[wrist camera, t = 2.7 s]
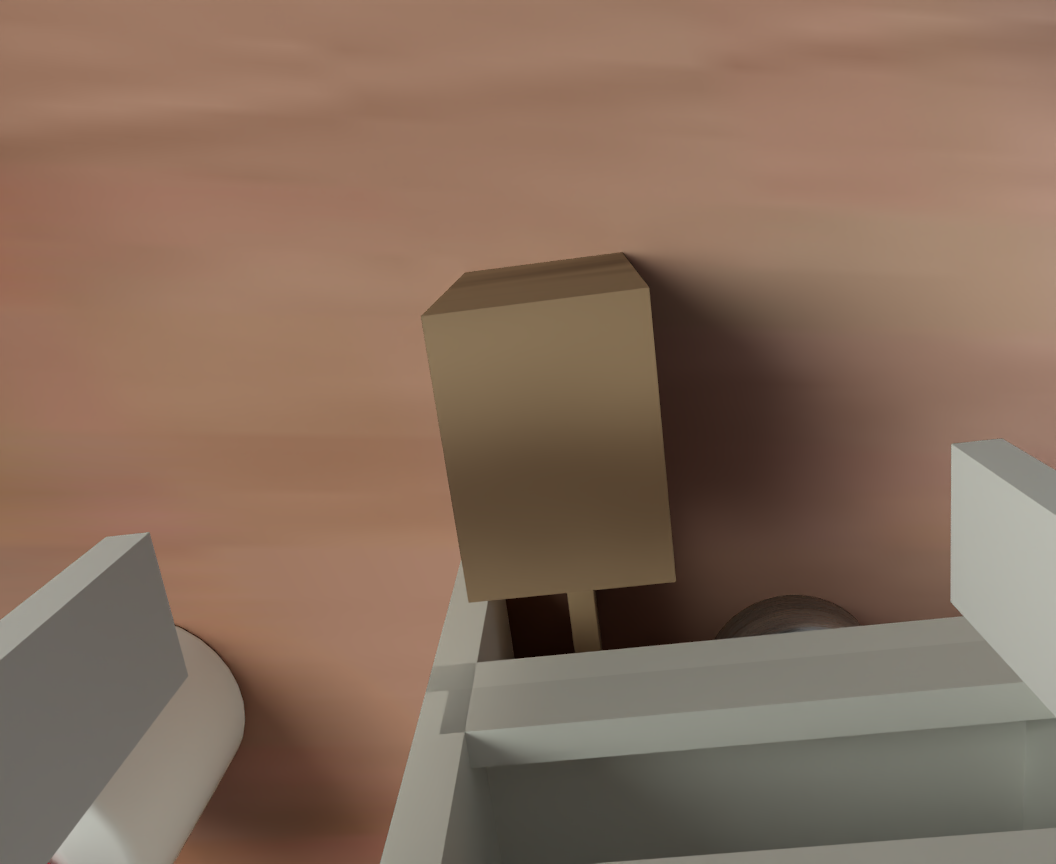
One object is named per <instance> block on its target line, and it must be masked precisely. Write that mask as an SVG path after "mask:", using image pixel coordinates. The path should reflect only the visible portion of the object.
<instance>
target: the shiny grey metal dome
mask: <svg viewBox="0 0 1056 864" xmlns="http://www.w3.org/2000/svg"><path fill="white" fill-rule="evenodd" d="M855 626H861V624H860V623H859V622H858V621H857V620H856V619H855V618H854V617H853V616H852V615H851V614H850V613H849V612H847V611H846V610H844V609H843V608H841V607H840V606H838V605H836V604H834V603H831V602H829V601H826V600H823V599H820V598H816V597H811V596H803V595H786V596H779V597H774V598H770V599H766V600H763V601H761V602H758V603H756V604H753V605H751V606H750V607H748V608H746V609H744V610H743V611H741V612H740V613H738V614H737V615H736V616H734V617H733V618H732V619H731V620H730V621H729V622H728V623H727V624H726V625H725V626H724V627H723V628H722V630H721V631H720V632H719V634H718V635H717V637H716V638H715V640H719V639H730V638H740V637H751V636H761V635H771V634H782V633H792V632H803V631H813V630H824V629H834V628H845V627H855Z"/></svg>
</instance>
